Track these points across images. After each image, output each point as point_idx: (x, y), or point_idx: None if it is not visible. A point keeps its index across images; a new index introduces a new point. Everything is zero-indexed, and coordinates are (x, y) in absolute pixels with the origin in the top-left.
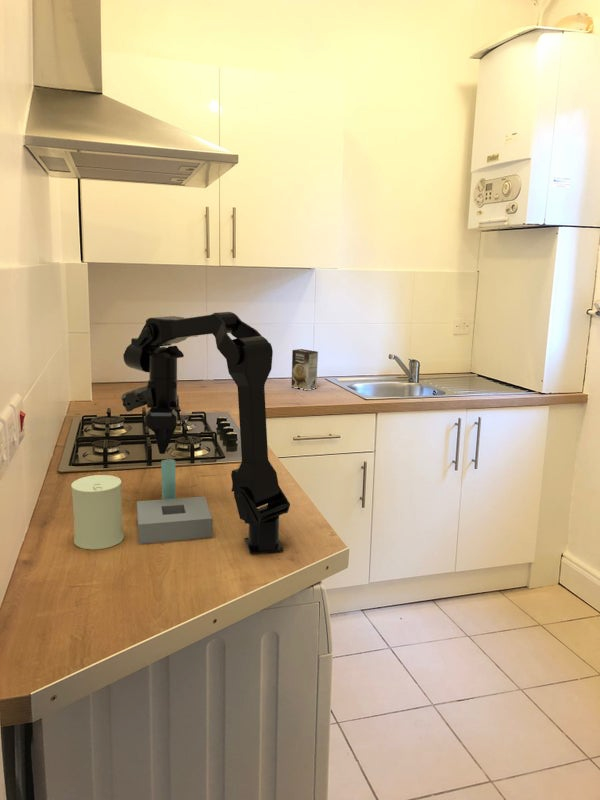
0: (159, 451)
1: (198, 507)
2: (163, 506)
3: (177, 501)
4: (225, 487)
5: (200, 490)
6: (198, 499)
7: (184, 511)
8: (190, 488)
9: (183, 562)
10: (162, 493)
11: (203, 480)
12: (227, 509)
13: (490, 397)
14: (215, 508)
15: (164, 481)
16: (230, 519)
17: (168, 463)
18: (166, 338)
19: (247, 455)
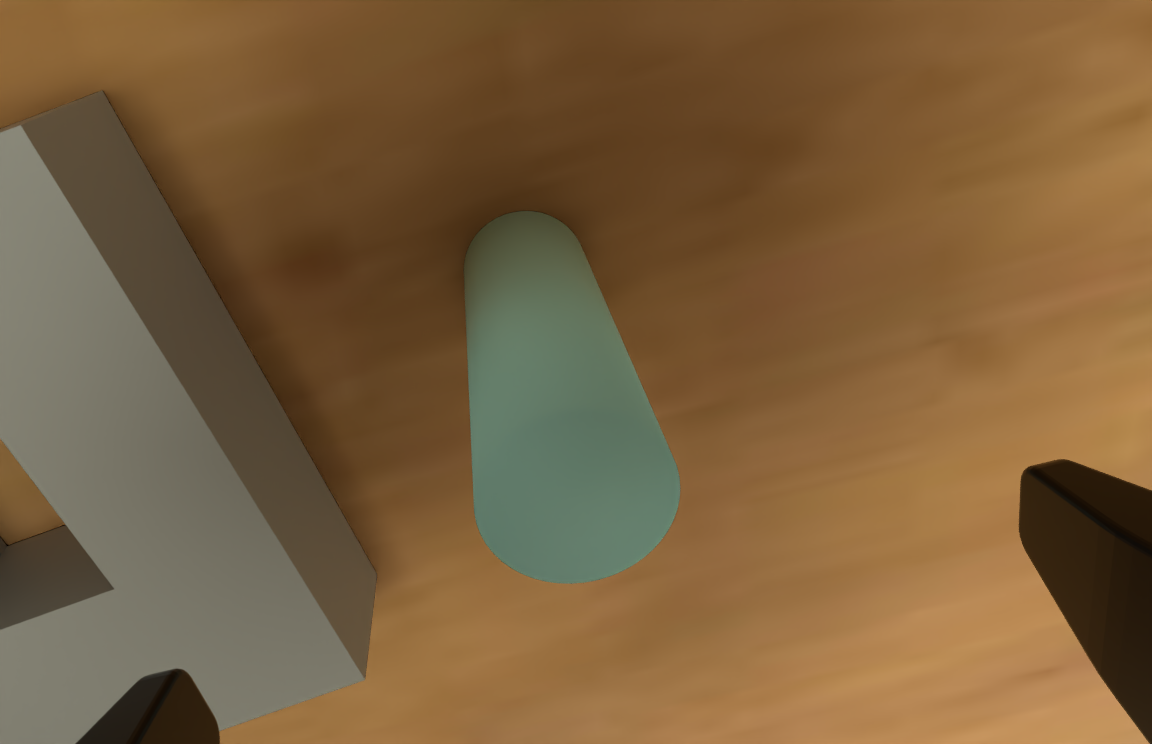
0: (115, 716)
1: (94, 705)
2: (6, 437)
3: (173, 520)
4: (918, 572)
5: (861, 425)
6: (280, 657)
7: (62, 587)
8: (911, 339)
9: None
10: (489, 264)
11: (1091, 390)
12: (493, 678)
13: None
14: (499, 609)
15: (473, 351)
16: (324, 731)
17: (480, 531)
18: None
19: None
